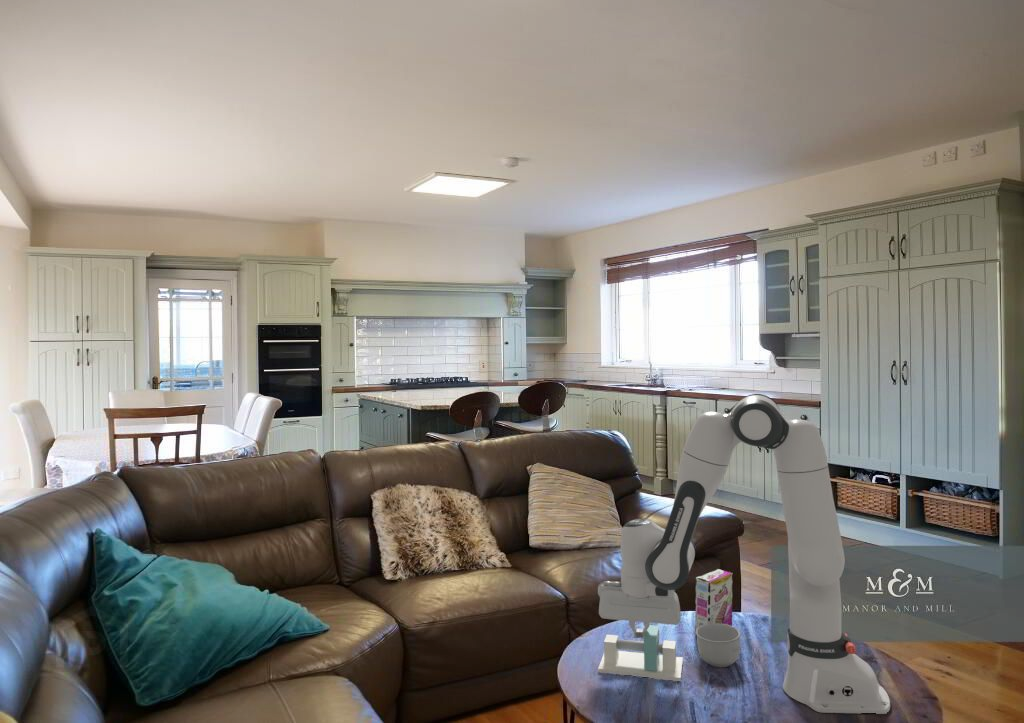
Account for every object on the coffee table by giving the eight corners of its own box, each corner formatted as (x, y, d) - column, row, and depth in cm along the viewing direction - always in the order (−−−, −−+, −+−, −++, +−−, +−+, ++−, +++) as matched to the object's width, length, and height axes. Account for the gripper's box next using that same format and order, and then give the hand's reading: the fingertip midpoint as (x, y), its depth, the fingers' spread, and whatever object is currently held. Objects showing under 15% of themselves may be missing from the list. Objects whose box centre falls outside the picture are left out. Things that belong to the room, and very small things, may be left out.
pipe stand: (683, 661, 185) (682, 635, 185) (680, 681, 175) (680, 654, 174) (605, 652, 191) (604, 628, 190) (598, 672, 180) (597, 646, 180)
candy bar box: (710, 641, 196) (709, 582, 195) (694, 635, 200) (694, 577, 199) (733, 629, 203) (733, 572, 203) (718, 624, 207) (718, 567, 206)
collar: (659, 656, 185) (659, 625, 185) (656, 671, 178) (656, 639, 177) (647, 655, 186) (647, 624, 186) (644, 669, 179) (643, 637, 178)
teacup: (742, 673, 178) (742, 641, 178) (697, 670, 180) (697, 638, 180) (736, 648, 192) (736, 618, 191) (694, 645, 194) (694, 616, 194)
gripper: (595, 584, 182) (596, 638, 182) (679, 591, 176) (679, 646, 177) (599, 576, 188) (600, 628, 188) (680, 582, 182) (681, 636, 183)
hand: (639, 637), depth 182 cm, fingers closed
